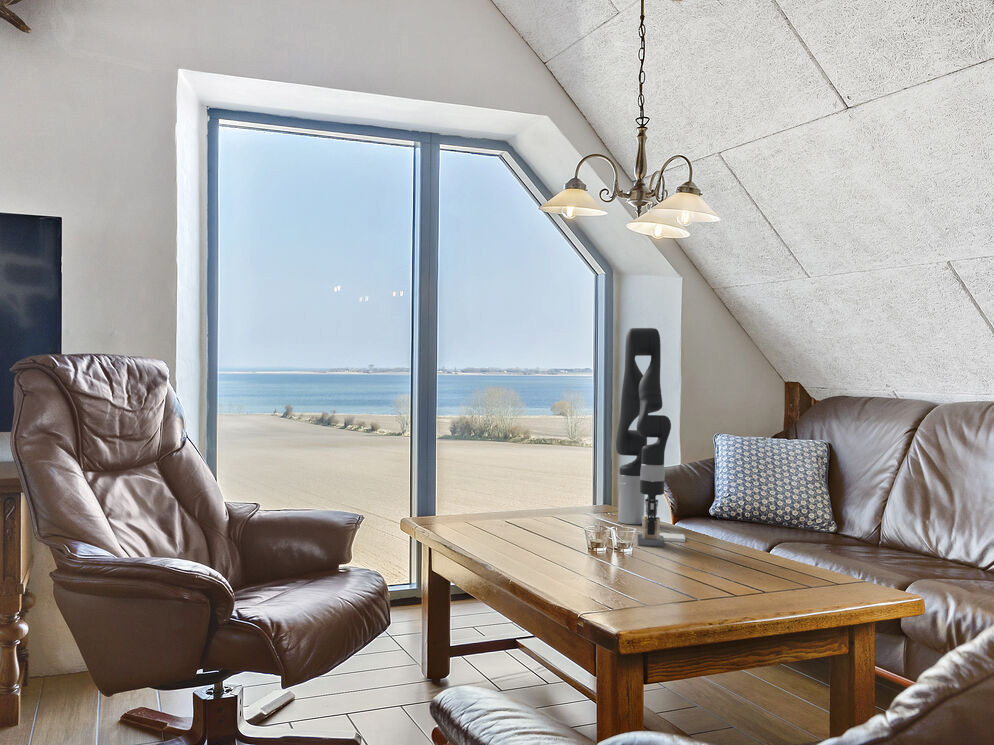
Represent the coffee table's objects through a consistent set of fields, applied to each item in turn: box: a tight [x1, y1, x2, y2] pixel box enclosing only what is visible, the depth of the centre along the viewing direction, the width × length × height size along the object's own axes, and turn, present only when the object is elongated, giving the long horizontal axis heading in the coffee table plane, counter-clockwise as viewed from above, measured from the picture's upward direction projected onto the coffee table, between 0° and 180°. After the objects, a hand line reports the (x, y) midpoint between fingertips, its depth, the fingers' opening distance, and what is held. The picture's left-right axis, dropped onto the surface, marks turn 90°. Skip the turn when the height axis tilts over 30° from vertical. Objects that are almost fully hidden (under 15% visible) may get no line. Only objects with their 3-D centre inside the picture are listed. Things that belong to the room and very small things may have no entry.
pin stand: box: [637, 515, 665, 548], centre depth 258 cm, size 8×8×8 cm
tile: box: [660, 532, 686, 543], centre depth 267 cm, size 8×8×1 cm
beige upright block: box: [641, 515, 661, 539], centre depth 258 cm, size 5×5×6 cm
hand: (650, 532), depth 258 cm, fingers closed on beige upright block, 5 cm apart
